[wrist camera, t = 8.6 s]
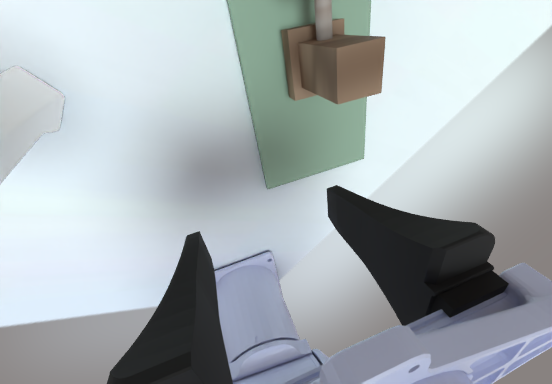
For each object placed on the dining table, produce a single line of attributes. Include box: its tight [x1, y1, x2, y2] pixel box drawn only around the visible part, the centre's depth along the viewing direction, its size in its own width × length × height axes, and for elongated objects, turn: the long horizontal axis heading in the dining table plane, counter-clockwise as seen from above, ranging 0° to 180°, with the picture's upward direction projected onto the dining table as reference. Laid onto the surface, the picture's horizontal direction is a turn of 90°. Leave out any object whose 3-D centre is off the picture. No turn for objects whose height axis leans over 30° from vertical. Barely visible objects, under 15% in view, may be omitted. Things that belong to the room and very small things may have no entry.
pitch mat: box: [227, 0, 371, 189], centre depth 20 cm, size 19×10×1 cm, turn 9°
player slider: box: [281, 0, 385, 105], centre depth 15 cm, size 8×4×6 cm, turn 9°
